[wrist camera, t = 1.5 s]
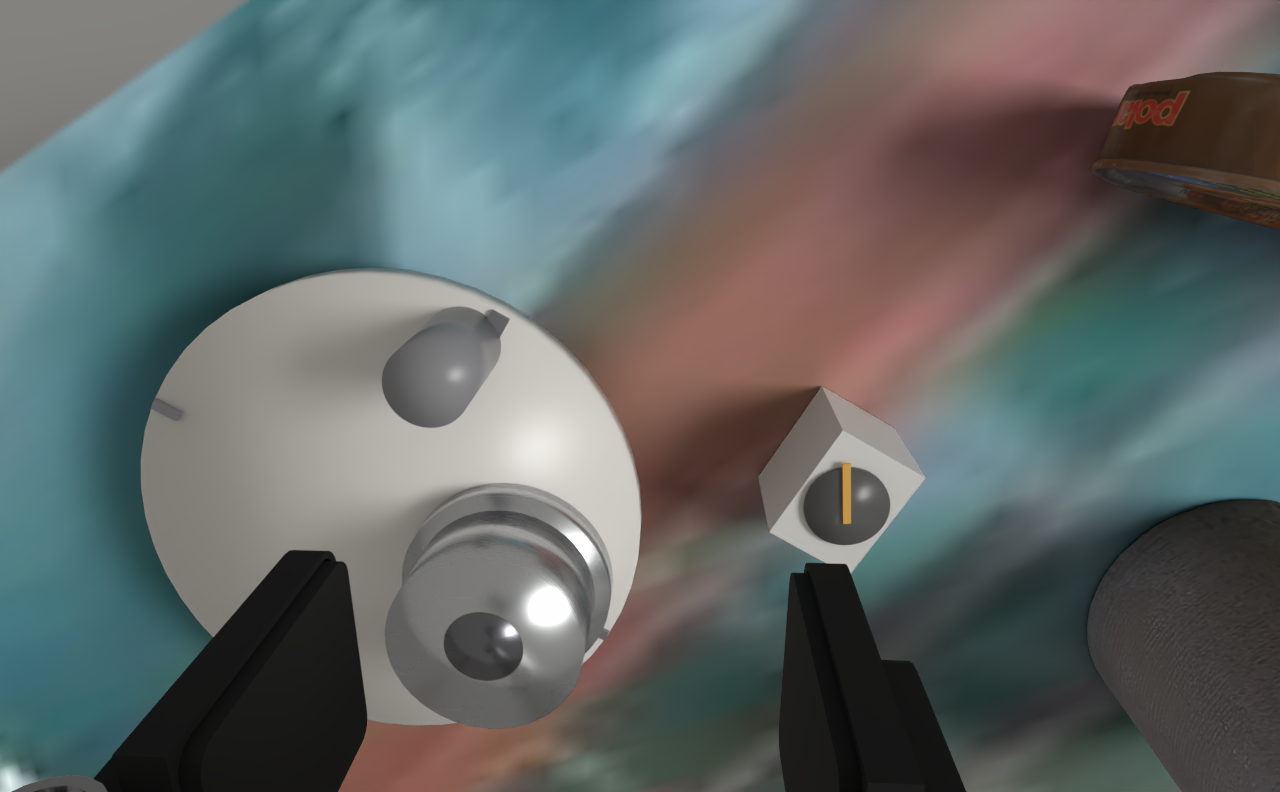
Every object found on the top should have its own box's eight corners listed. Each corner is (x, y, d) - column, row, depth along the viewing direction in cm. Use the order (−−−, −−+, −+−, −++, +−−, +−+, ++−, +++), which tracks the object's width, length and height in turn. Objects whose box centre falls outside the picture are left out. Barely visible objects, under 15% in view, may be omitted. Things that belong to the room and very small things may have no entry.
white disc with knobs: (510, 752, 34) (475, 885, 28) (115, 561, 32) (-9, 664, 26) (733, 420, 29) (746, 502, 23) (277, 162, 27) (166, 182, 21)
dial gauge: (828, 515, 30) (850, 580, 26) (757, 476, 30) (769, 535, 26) (894, 428, 29) (928, 481, 25) (821, 386, 29) (844, 433, 25)
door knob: (552, 693, 30) (532, 777, 27) (378, 603, 30) (331, 676, 26) (650, 547, 28) (643, 616, 24) (465, 446, 27) (428, 501, 24)
